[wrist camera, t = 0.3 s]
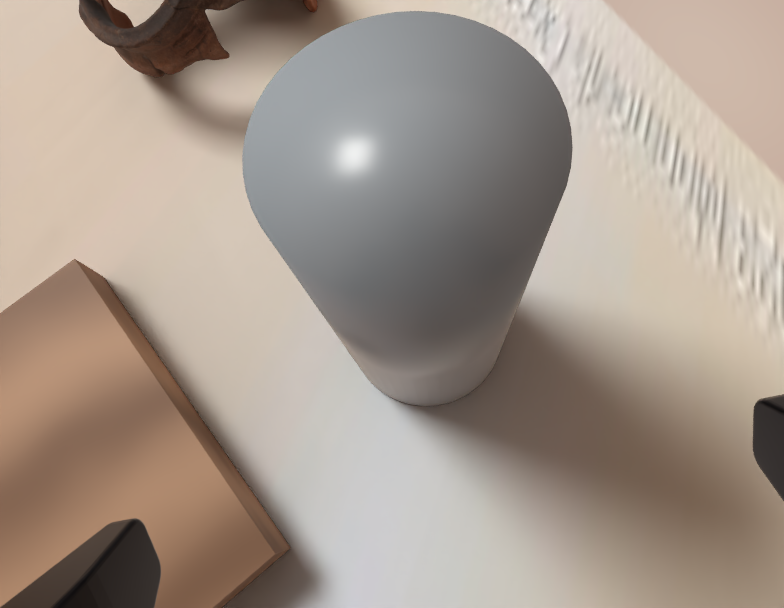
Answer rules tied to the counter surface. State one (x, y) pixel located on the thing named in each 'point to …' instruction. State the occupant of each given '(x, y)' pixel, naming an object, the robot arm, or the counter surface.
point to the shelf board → (113, 451)
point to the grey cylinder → (411, 190)
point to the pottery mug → (161, 33)
